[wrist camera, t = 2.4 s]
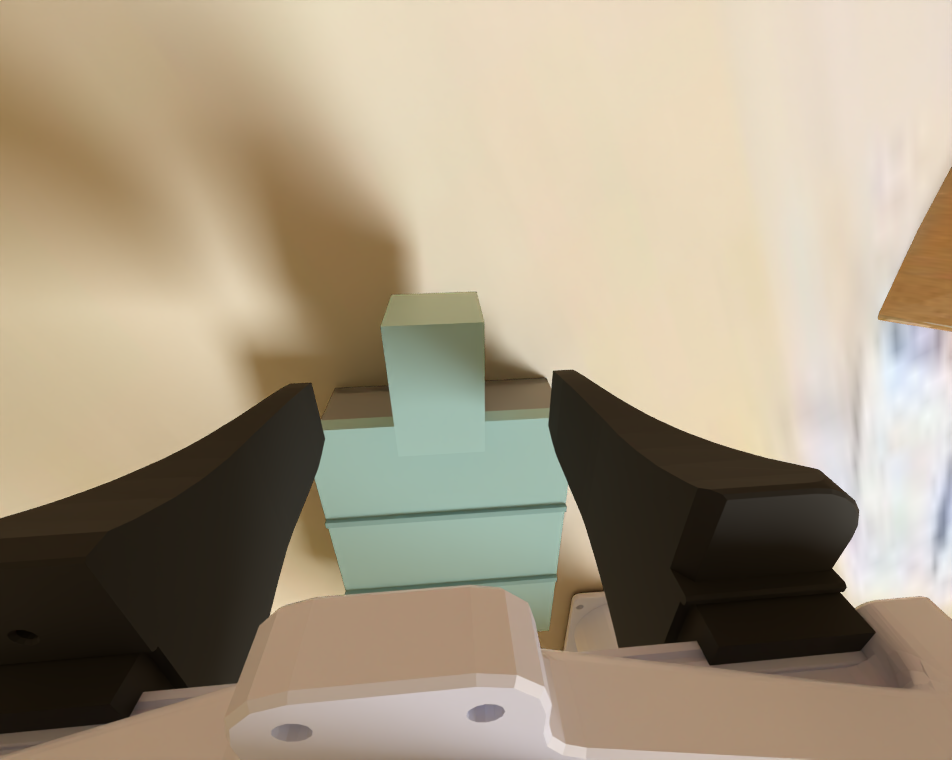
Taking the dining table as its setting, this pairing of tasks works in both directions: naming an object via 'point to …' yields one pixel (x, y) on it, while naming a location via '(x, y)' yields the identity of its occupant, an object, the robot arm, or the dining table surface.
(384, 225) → the dining table surface
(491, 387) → the tub
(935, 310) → the sandwich container
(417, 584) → the mint green stepped piece
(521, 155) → the dining table surface
